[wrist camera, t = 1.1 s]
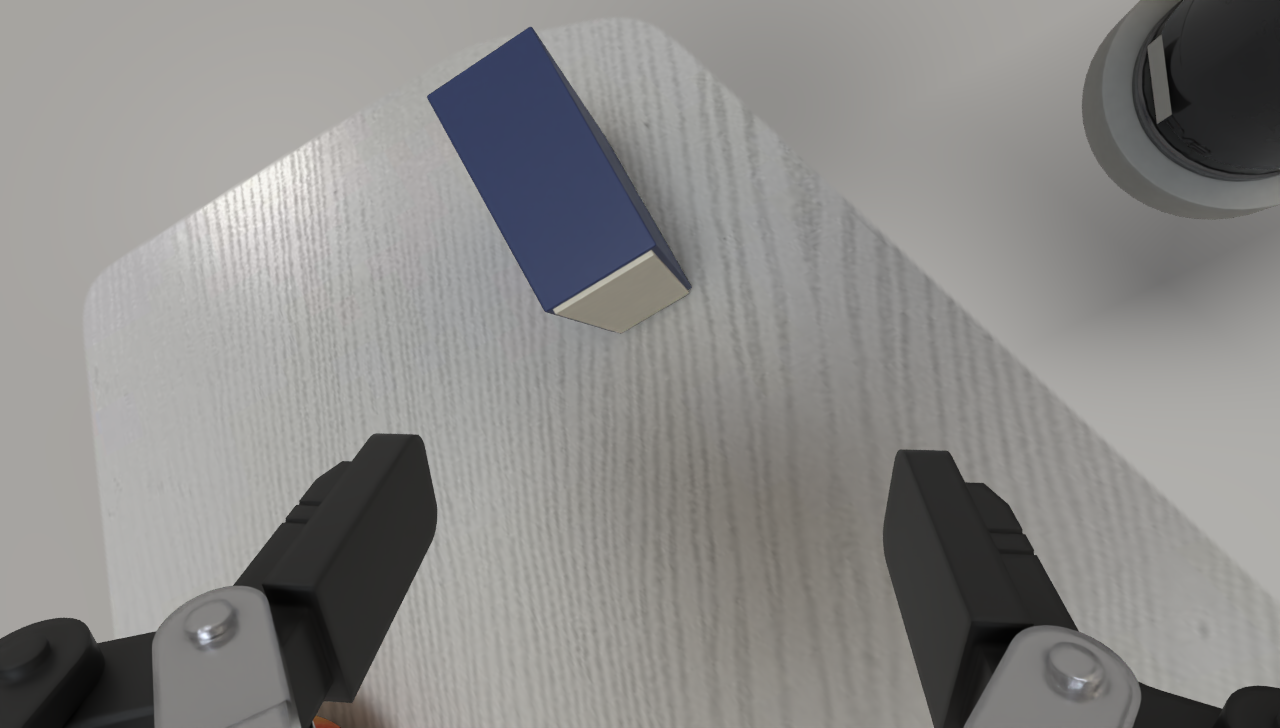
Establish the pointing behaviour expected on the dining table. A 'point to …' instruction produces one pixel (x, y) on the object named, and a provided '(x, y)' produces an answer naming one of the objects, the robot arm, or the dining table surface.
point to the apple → (324, 723)
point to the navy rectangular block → (557, 189)
